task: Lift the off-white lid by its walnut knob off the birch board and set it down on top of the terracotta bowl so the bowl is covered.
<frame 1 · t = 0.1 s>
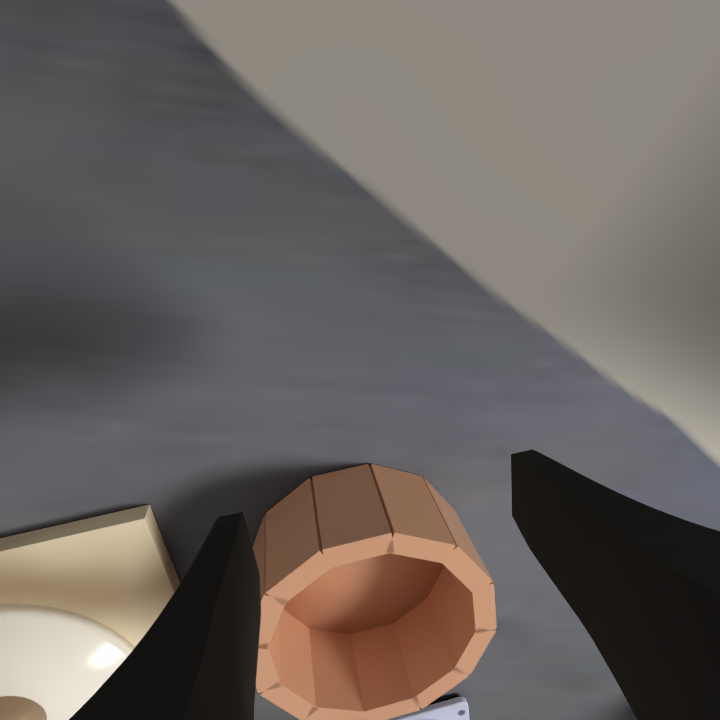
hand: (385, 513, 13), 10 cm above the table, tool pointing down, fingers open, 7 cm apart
board: (26, 684, 26), on the table
bowl: (357, 555, 26), on the table
lid: (17, 702, 25), point 1 cm above the table, touching board
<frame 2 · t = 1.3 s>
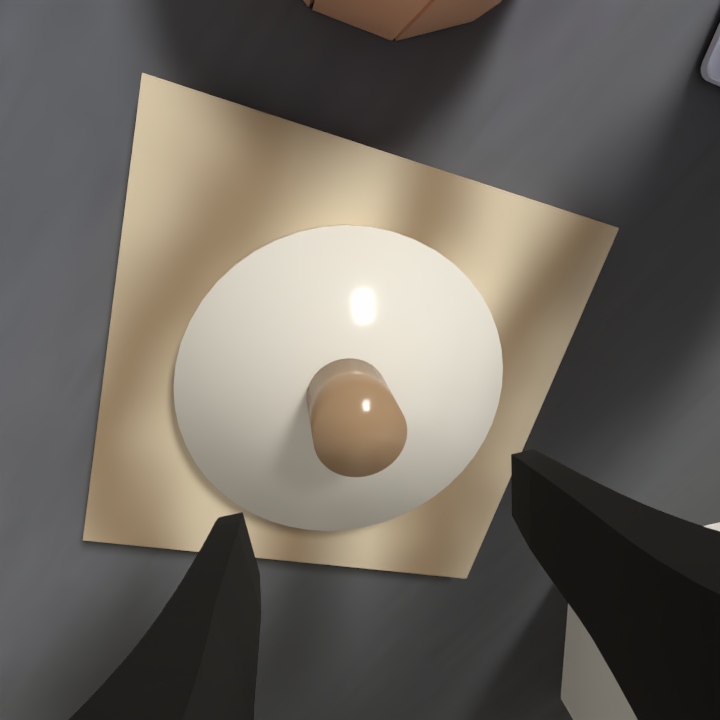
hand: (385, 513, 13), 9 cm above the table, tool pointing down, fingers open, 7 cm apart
board: (341, 378, 21), on the table
milk: (651, 608, 31), on the table
lid: (344, 388, 20), point 1 cm above the table, touching board
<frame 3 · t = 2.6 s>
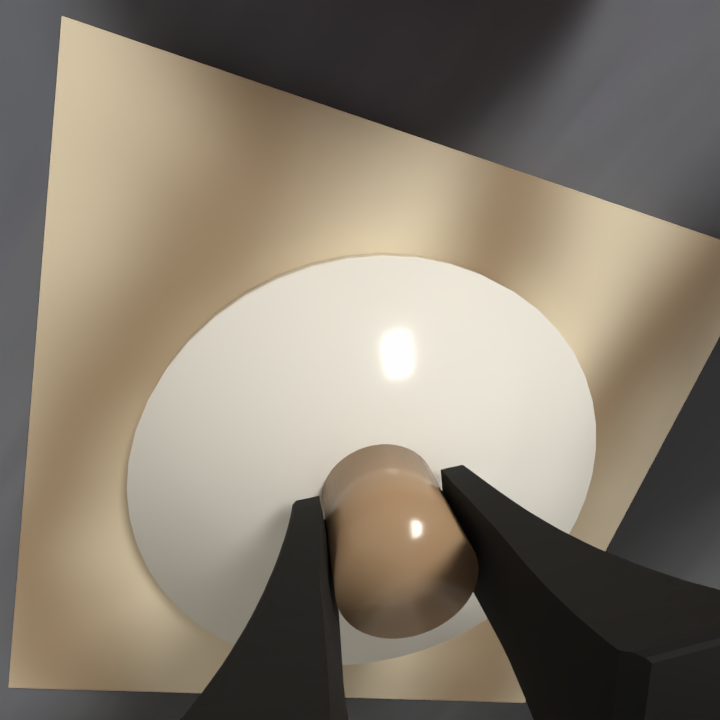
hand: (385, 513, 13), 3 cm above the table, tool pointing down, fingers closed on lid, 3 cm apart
board: (367, 459, 15), on the table
lid: (373, 478, 14), point 1 cm above the table, touching board, gripper
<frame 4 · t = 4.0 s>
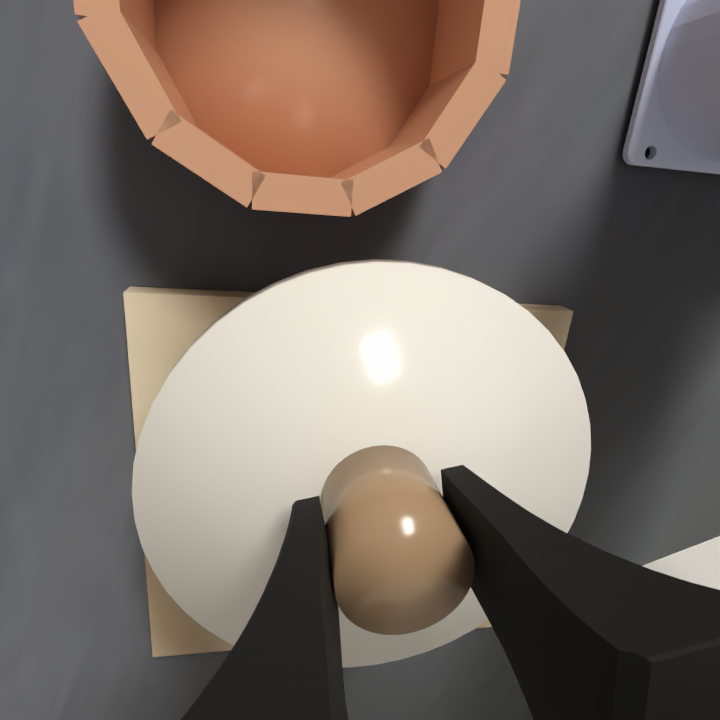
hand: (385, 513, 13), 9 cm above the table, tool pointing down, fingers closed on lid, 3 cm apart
board: (347, 482, 24), on the table
milk: (685, 614, 32), on the table
bowl: (300, 32, 17), on the table
lid: (372, 479, 15), point 7 cm above the table, touching gripper
when the fingers open (8 cm above the table, at t = 5.4 s): lid stays where it is, resting on bowl.
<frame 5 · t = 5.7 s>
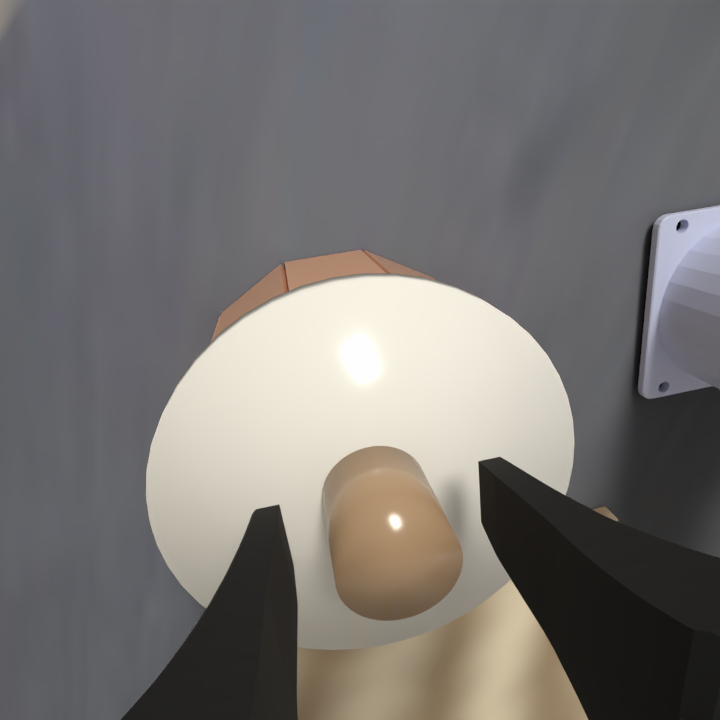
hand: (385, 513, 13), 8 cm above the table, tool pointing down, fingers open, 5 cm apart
board: (444, 673, 27), on the table
bowl: (344, 391, 20), on the table
lid: (369, 476, 16), point 5 cm above the table, touching bowl
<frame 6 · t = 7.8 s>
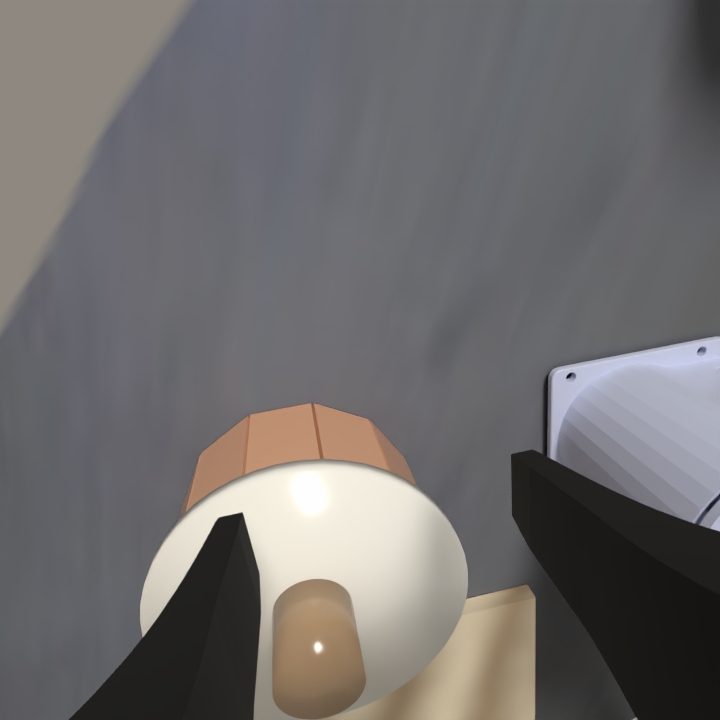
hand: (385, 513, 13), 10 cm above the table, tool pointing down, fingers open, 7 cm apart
board: (396, 719, 32), on the table
bowl: (301, 505, 25), on the table
lid: (311, 594, 21), point 5 cm above the table, touching bowl
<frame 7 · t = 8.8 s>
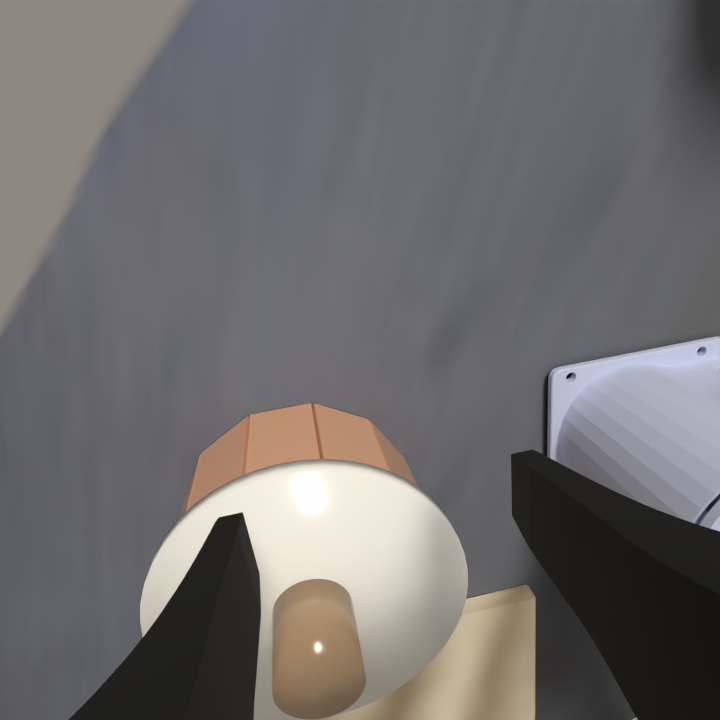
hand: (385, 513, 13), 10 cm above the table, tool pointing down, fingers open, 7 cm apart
board: (396, 719, 32), on the table
bowl: (301, 505, 25), on the table
lid: (311, 594, 21), point 5 cm above the table, touching bowl
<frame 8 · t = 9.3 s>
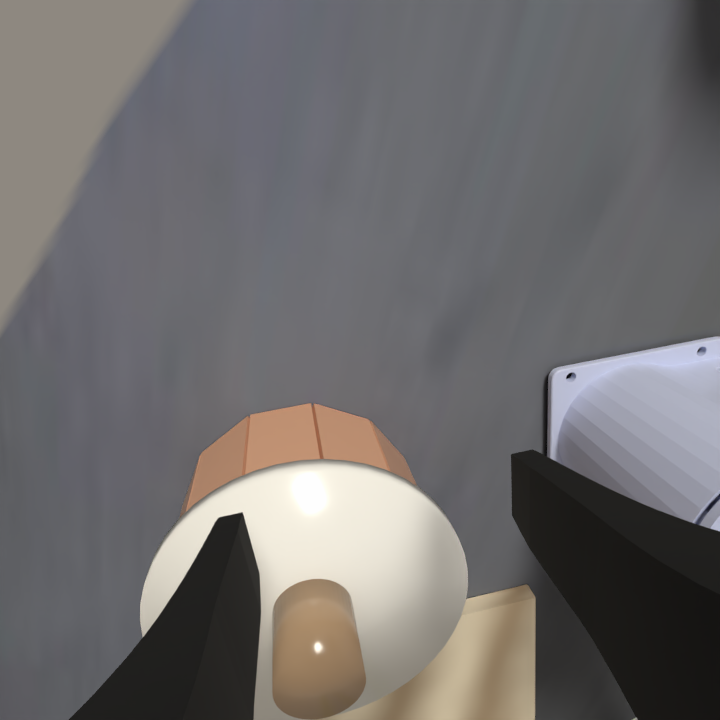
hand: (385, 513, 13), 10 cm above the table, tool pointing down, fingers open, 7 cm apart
board: (396, 719, 32), on the table
bowl: (301, 505, 25), on the table
lid: (311, 594, 21), point 5 cm above the table, touching bowl
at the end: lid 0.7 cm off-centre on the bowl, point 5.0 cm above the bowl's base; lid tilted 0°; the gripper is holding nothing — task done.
